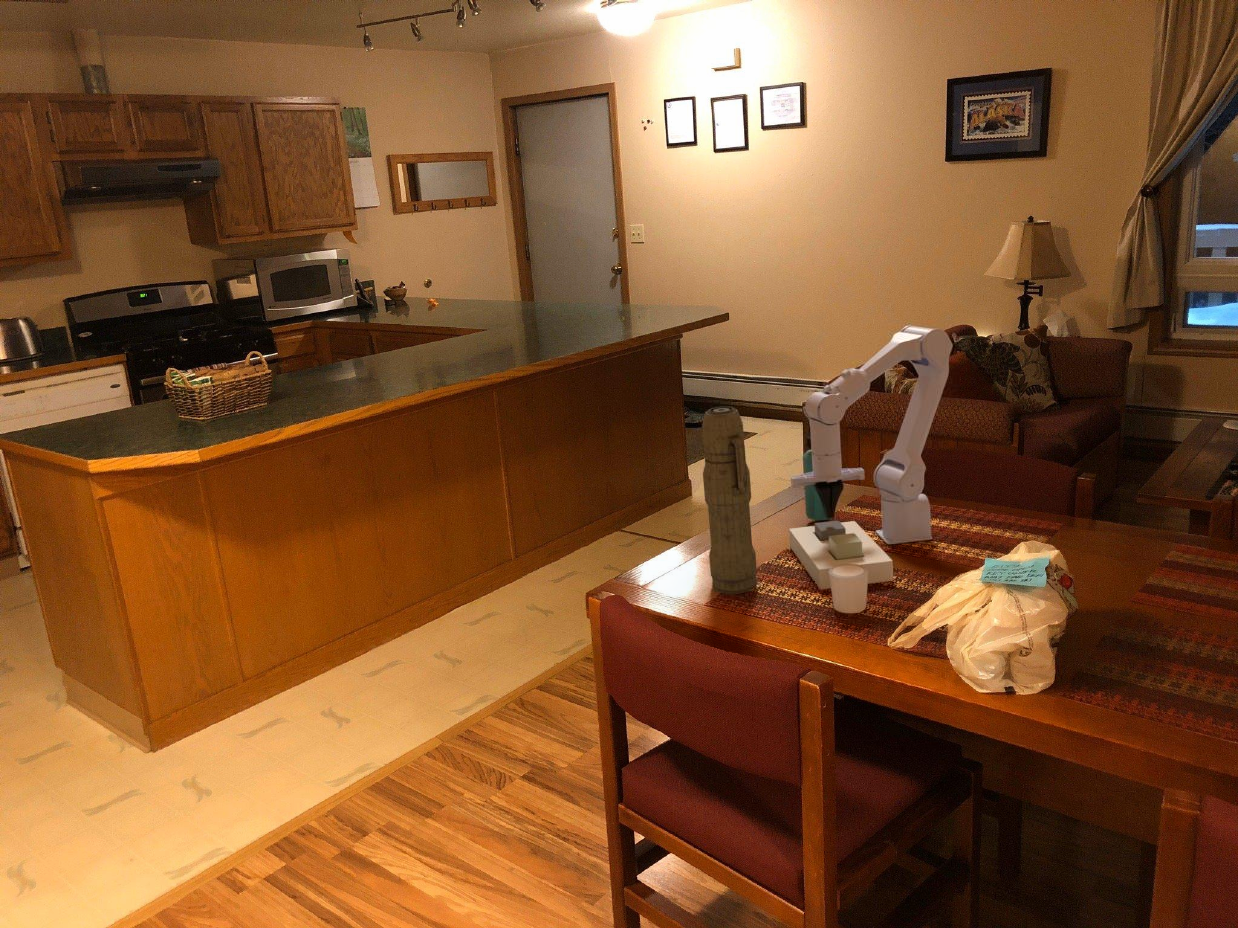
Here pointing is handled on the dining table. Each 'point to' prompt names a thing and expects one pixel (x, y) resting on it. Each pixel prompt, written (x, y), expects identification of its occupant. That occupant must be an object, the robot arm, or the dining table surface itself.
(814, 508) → the beverage bottle
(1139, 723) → the dining table surface
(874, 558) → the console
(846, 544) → the sage key
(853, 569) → the white cup
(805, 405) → the robot arm
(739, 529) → the thermos
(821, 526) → the charcoal key
